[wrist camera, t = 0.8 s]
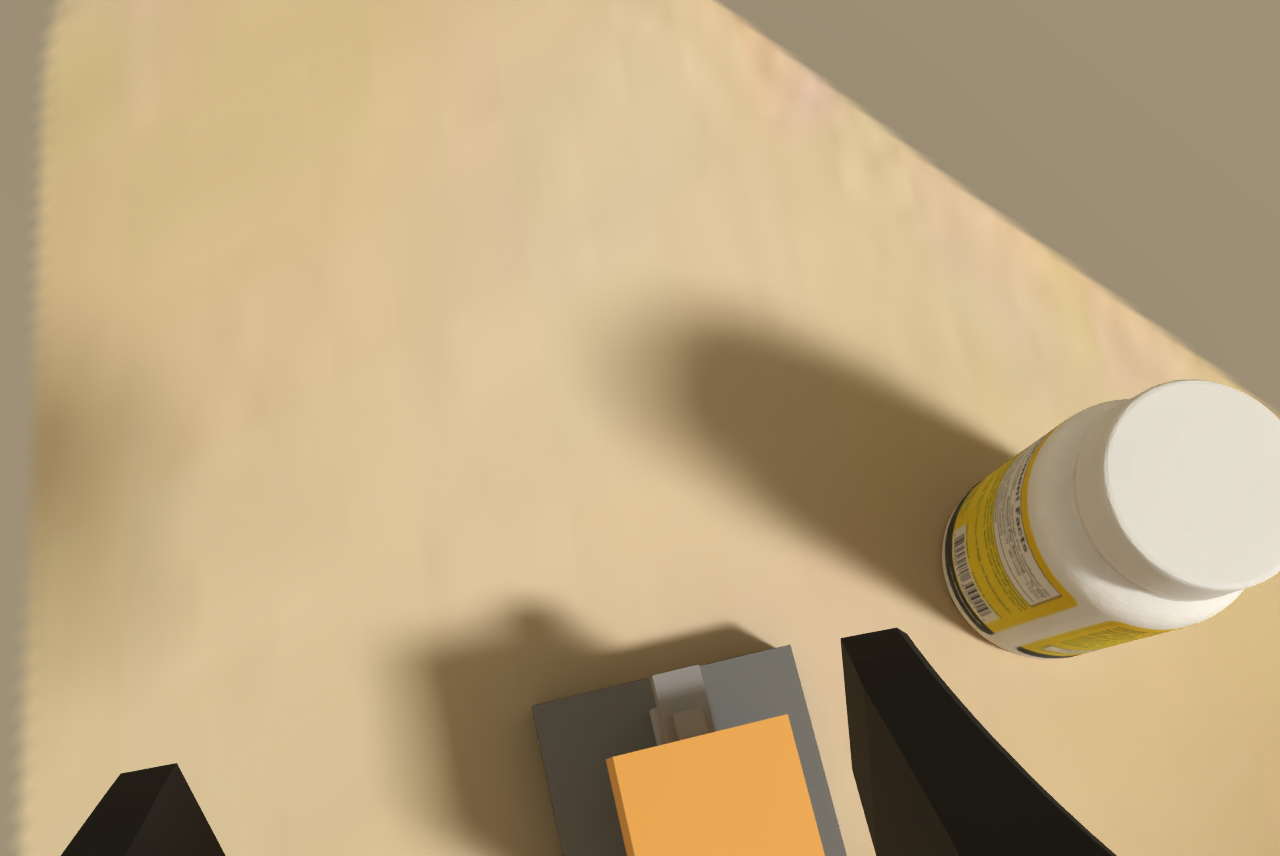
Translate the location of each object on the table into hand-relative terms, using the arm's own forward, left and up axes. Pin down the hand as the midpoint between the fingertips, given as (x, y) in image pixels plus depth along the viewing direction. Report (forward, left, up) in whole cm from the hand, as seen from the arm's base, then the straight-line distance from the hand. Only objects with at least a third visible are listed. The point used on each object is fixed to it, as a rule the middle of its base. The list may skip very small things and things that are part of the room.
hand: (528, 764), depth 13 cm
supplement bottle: (+2, -13, -15) cm, 20 cm away
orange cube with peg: (-1, -3, -13) cm, 13 cm away
